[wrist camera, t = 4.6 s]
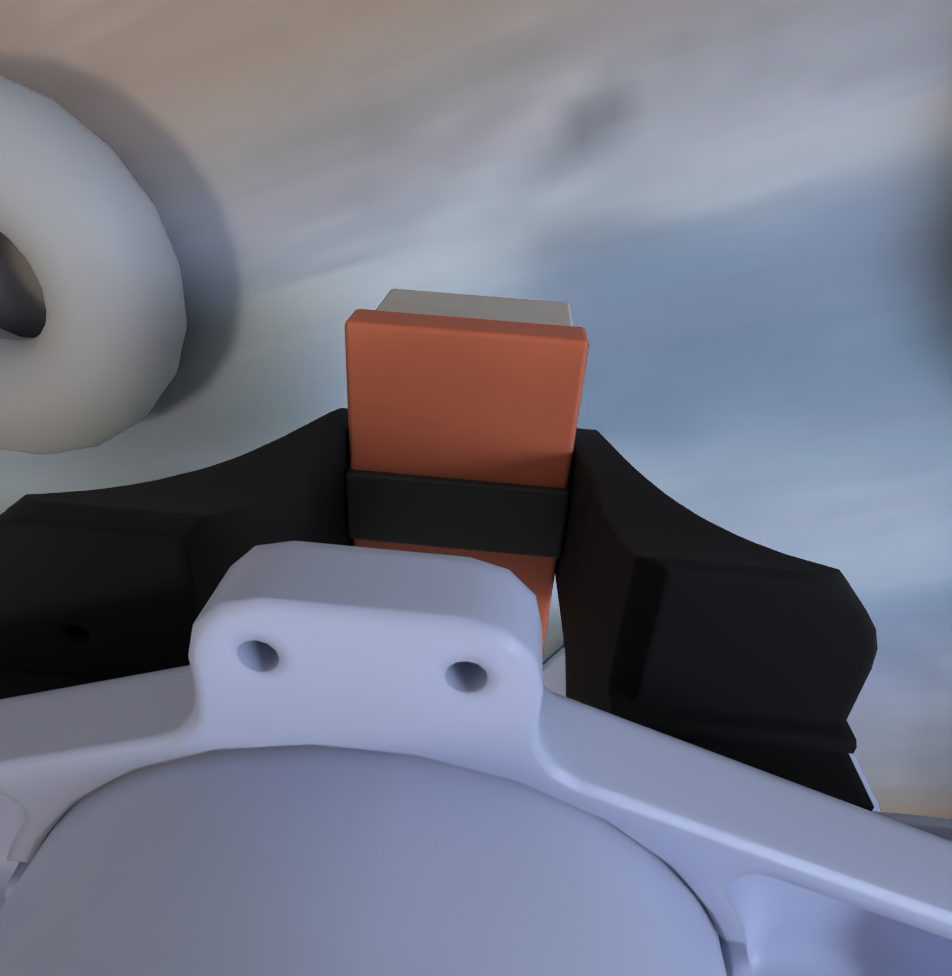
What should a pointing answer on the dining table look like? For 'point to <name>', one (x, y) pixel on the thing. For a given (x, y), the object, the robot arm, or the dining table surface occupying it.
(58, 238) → the donut
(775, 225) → the dining table surface
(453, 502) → the sushi
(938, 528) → the dining table surface
